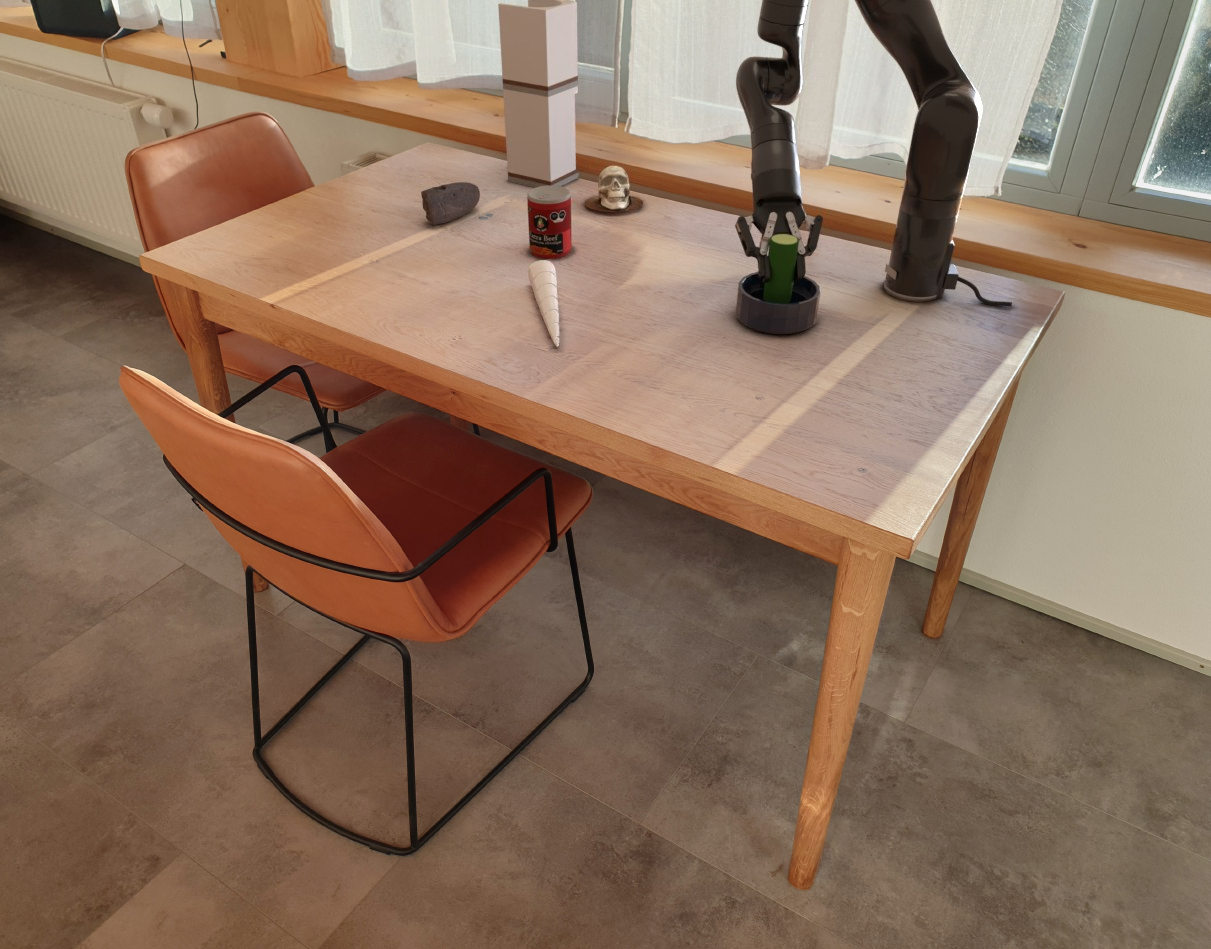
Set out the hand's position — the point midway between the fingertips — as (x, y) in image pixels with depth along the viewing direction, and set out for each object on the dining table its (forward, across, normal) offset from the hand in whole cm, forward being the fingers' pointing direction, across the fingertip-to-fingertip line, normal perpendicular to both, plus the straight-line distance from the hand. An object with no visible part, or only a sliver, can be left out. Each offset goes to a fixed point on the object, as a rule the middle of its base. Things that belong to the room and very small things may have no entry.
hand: (782, 280), depth 145 cm
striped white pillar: (-44, -37, +56) cm, 80 cm away
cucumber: (+2, 0, +4) cm, 4 cm away
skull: (-33, -23, +44) cm, 59 cm away
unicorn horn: (+2, -36, +10) cm, 37 cm away
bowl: (+4, 0, +7) cm, 8 cm away
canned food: (-16, -36, +28) cm, 48 cm away
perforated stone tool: (-29, -55, +40) cm, 74 cm away
